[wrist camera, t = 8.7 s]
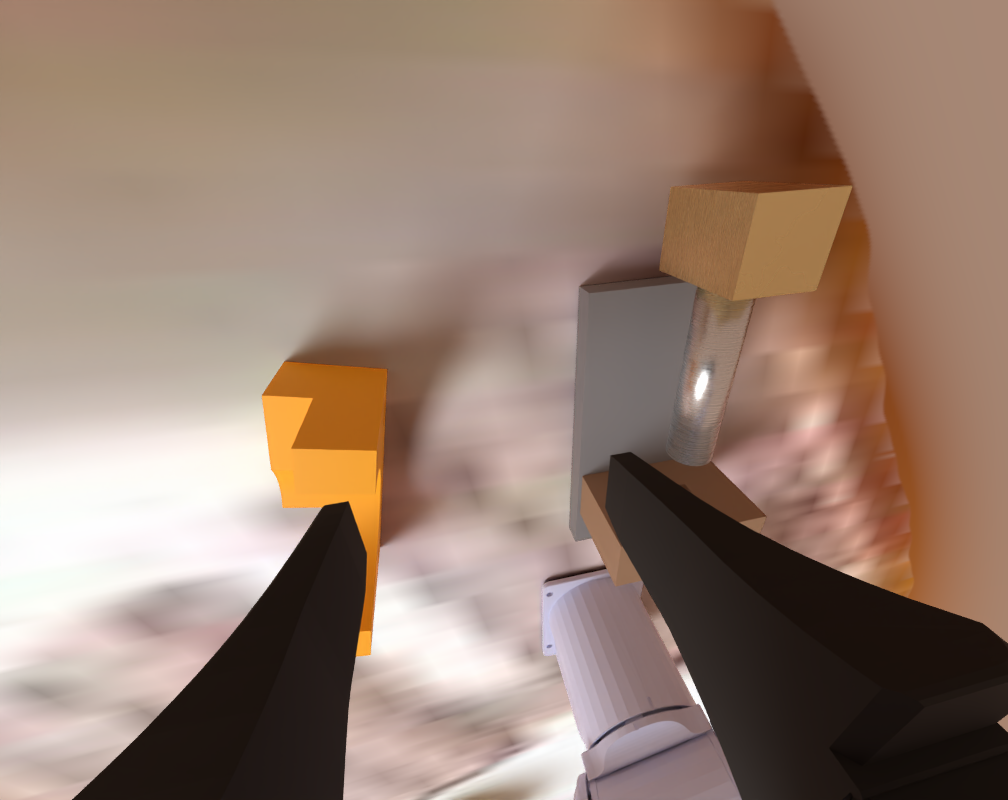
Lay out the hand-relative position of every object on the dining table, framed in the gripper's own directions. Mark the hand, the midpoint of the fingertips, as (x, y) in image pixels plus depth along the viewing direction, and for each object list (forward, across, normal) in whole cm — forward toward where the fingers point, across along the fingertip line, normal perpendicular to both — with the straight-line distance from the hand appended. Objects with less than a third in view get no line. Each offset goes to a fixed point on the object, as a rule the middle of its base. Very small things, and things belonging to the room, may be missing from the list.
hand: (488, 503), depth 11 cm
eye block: (+9, -10, +4) cm, 14 cm away
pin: (+7, -10, -2) cm, 12 cm away
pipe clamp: (+10, +7, +5) cm, 13 cm away
